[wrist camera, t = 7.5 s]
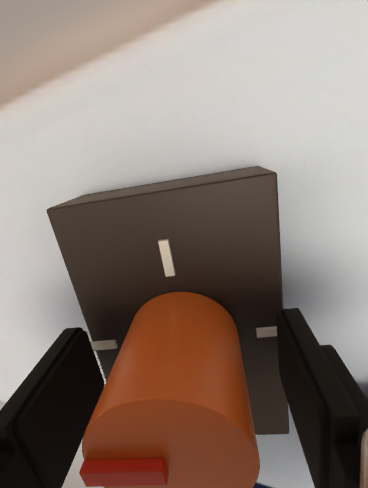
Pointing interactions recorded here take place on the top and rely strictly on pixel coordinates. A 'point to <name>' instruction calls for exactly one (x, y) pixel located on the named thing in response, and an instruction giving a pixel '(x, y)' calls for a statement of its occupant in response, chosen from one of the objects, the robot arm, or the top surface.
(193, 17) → the top surface
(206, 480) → the dial knob
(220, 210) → the dial block
